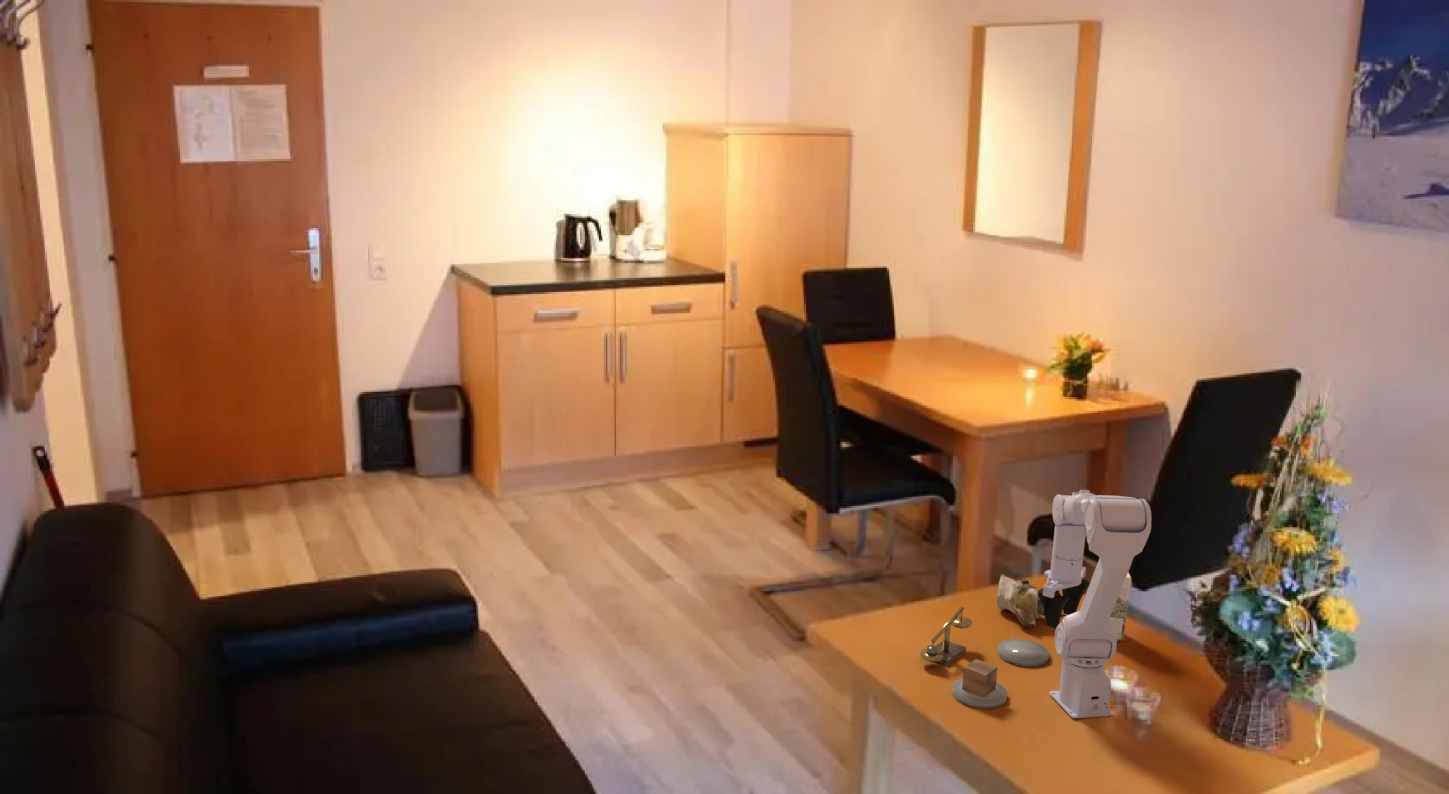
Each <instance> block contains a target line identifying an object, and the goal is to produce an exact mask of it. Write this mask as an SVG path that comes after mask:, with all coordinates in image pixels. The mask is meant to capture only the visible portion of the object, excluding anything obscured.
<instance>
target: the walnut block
mask: <svg viewBox="0 0 1449 794" xmlns="http://www.w3.org/2000/svg"><path fill="white" fill-rule="evenodd" d="M998 669H999V668H998V666H996V665H993V664H990V663H987V662H985V661H982V660H979V659H977V658H976V659H975V658H974V660H972V661H971V662H969V663H968V664H967V665H965V666H964V667H963V674H962V676H963V677H962V678H963V684H962V689H963V690H965V691H968V692H971V693H973V694H976V695H978V696H981V697H985V696H986V695H988V694H989V693H991V692H992V691H993V690H995V689H996V682H997V676H998Z"/></svg>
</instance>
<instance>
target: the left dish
mask: <svg viewBox="0 0 1449 794" xmlns="http://www.w3.org/2000/svg"><path fill="white" fill-rule="evenodd" d="M962 684H963V677H962V678H960V679H957V680H955V681H954V682H953V684H952V686H951V694H952V696H953V697H954V698H955V699H956V700H957V701H959V702H960V703H961V704H964V705H966V706H969V707H973V708H978V709H993V708H998V707H1001V706H1003V705H1004V704H1006V702H1007V700H1008V691H1007V690H1006V688H1005V687H1004V686H1003V685H1002V684H1001V683H999V682H997V681H996V689H995V690H993V691H992V692H991V693H989V694H988V695H986V696H985V697H981V696H978V695H976V694H973V693H971V692H968V691H965V690H963V689H962Z"/></svg>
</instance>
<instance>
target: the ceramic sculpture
mask: <svg viewBox="0 0 1449 794" xmlns="http://www.w3.org/2000/svg"><path fill="white" fill-rule="evenodd" d="M1039 590H1040V589H1038V588H1037V587H1035V586H1033V585H1031V583H1030V581H1029V580H1026V579H1021V580H1018V581H1016V580H1014V578H1010V577H1008V576H1006V575H1005V574H1001V575H1000V578H999V580H998V589H997V593H996V606H997V608H998V609H1000V610H1001V611H1005V610H1007V611H1010V612H1011V613H1012V614H1014V615H1015V616H1016V619H1017V620H1018V622H1020V623H1021V624H1022V625H1023V626H1026V627H1032V628H1036V627H1037V619H1039V618H1040V617H1042V616H1044V617H1045V615H1044V609H1043V606H1042V603H1041V601H1040V599H1039V597H1038V591H1039ZM1065 616H1067V614H1064V613H1062V614H1061V618H1060V619H1063V618H1064V617H1065Z"/></svg>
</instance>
